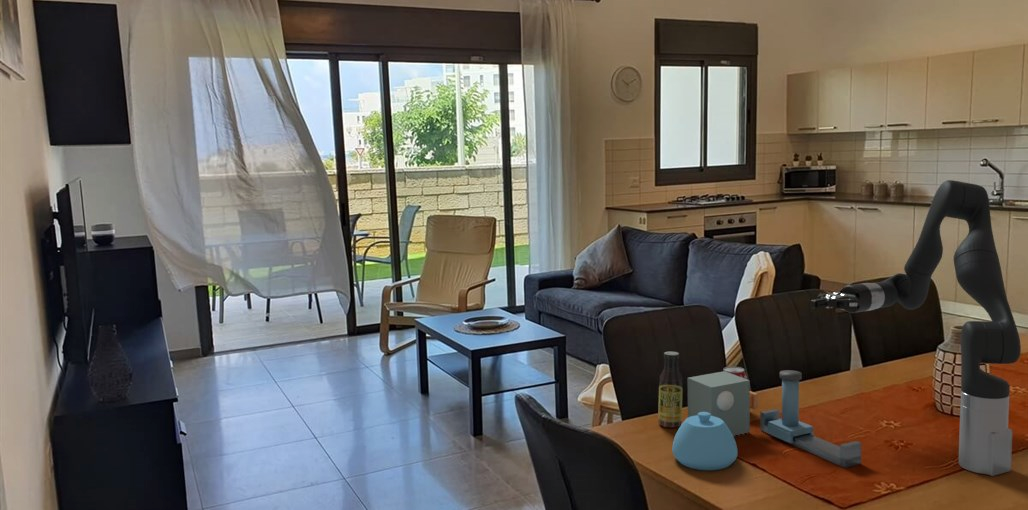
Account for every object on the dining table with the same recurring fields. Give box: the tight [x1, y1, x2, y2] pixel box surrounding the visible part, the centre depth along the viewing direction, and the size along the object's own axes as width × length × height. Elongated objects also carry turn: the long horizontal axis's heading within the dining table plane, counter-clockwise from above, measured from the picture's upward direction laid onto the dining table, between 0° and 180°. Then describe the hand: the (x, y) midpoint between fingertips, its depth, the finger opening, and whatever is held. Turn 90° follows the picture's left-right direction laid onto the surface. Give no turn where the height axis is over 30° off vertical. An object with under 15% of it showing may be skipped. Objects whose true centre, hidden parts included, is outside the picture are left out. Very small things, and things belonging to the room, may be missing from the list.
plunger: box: [750, 390, 759, 411], centre depth 202 cm, size 4×8×4 cm, turn 113°
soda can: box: [722, 365, 748, 380], centre depth 219 cm, size 7×7×12 cm
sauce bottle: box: [657, 351, 684, 429], centre depth 209 cm, size 7×6×20 cm
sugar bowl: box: [671, 412, 738, 471], centre depth 185 cm, size 15×15×12 cm
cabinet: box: [686, 370, 751, 437], centre depth 203 cm, size 11×12×14 cm
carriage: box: [767, 369, 814, 444], centre depth 196 cm, size 8×7×16 cm
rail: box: [759, 408, 862, 469], centre depth 191 cm, size 28×5×5 cm, turn 23°
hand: (812, 304), depth 203 cm, fingers closed
